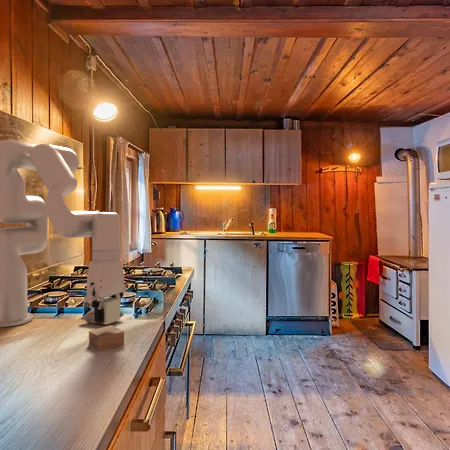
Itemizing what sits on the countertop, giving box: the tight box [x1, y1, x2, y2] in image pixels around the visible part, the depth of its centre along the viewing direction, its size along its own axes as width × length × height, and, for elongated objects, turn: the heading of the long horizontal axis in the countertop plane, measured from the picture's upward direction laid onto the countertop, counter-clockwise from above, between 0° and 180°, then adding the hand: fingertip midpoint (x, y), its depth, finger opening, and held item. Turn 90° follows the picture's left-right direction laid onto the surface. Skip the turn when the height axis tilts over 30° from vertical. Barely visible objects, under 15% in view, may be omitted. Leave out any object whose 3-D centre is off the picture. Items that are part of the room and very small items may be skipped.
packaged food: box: [78, 308, 125, 325], centre depth 116 cm, size 9×12×5 cm
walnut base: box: [88, 324, 125, 352], centre depth 98 cm, size 7×7×4 cm
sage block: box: [94, 296, 121, 325], centre depth 98 cm, size 5×5×6 cm
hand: (107, 318), depth 98 cm, fingers closed on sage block, 5 cm apart
